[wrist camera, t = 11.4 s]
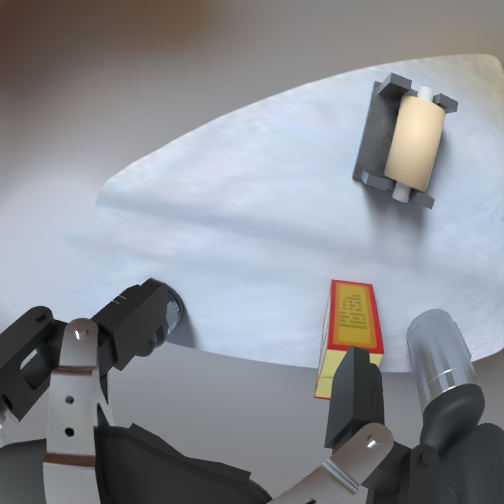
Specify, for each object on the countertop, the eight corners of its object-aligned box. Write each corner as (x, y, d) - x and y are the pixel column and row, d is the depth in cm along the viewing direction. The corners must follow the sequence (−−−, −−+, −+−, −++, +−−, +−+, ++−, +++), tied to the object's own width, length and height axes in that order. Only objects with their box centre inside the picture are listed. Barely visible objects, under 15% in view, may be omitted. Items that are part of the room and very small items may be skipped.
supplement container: (135, 280, 54) (98, 310, 43) (175, 277, 50) (138, 312, 39) (153, 322, 57) (122, 355, 46) (192, 323, 53) (163, 363, 43)
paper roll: (395, 77, 23) (436, 82, 19) (418, 94, 26) (454, 102, 22) (369, 189, 30) (406, 207, 25) (394, 194, 32) (427, 211, 28)
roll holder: (438, 108, 27) (464, 102, 20) (415, 199, 33) (435, 214, 26) (373, 82, 29) (384, 67, 21) (351, 176, 35) (357, 185, 27)
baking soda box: (331, 279, 42) (327, 349, 28) (371, 284, 40) (384, 354, 26) (323, 327, 45) (313, 399, 31) (359, 331, 44) (361, 404, 30)
